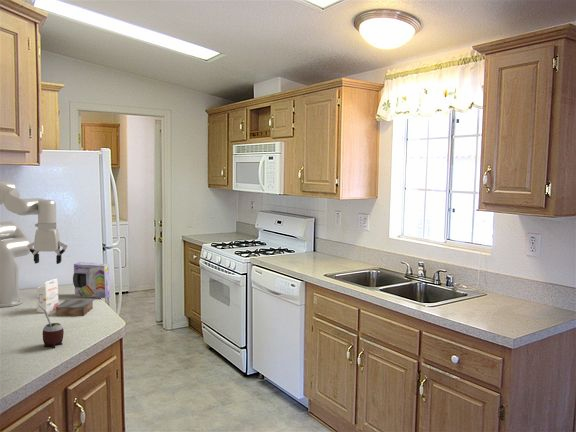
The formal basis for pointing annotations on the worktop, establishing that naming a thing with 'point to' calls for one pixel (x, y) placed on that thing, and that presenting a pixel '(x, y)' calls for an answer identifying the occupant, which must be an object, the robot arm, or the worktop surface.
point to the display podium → (74, 307)
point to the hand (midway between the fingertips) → (47, 263)
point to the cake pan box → (91, 280)
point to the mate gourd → (52, 333)
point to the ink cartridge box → (47, 296)
